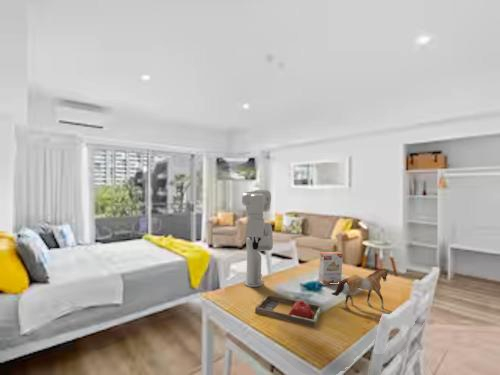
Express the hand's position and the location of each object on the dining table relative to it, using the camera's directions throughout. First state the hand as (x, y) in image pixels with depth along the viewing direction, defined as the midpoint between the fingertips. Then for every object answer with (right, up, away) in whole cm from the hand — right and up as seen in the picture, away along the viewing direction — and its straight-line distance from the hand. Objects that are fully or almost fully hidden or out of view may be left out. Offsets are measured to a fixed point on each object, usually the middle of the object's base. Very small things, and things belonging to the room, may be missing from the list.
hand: (255, 248), depth 152 cm
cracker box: (+50, -30, +29) cm, 66 cm away
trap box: (+17, -30, -12) cm, 36 cm away
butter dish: (+22, -31, -17) cm, 42 cm away
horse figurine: (+58, -31, -1) cm, 66 cm away
